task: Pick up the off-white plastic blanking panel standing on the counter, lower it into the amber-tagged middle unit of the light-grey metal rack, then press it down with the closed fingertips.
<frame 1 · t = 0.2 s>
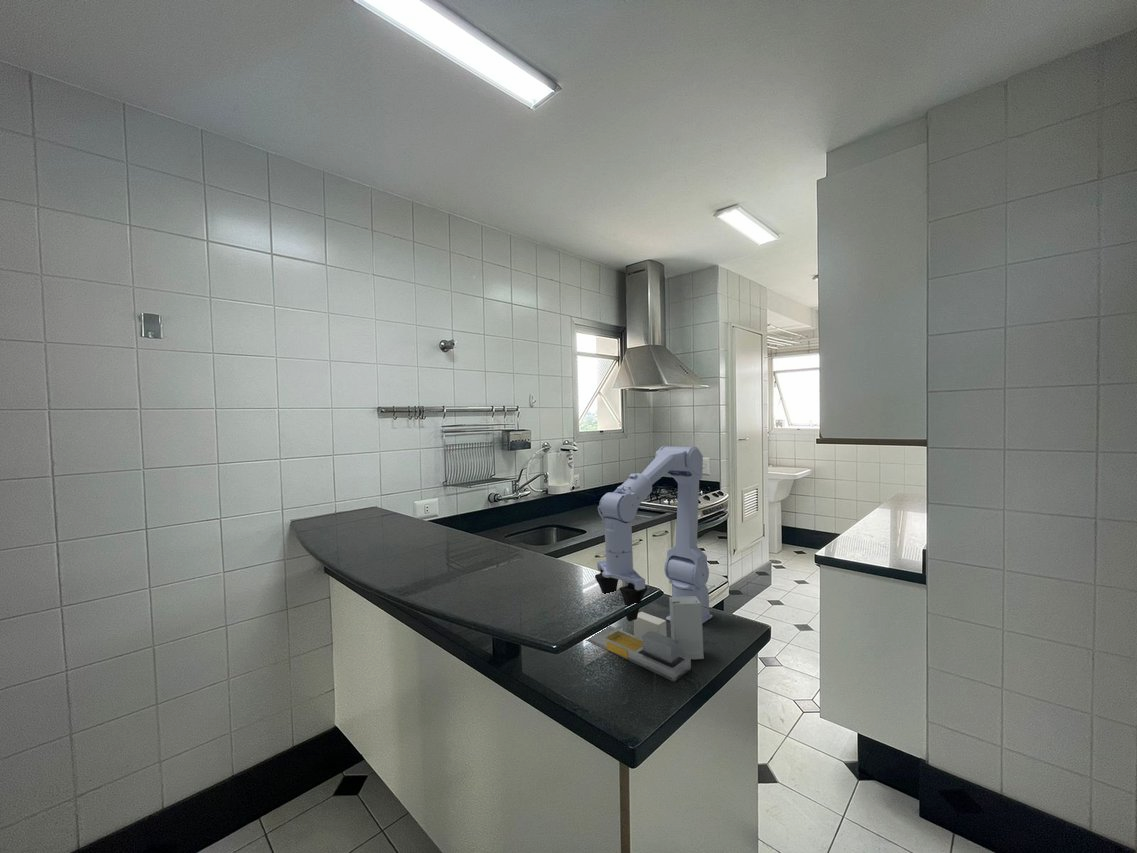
hand: (621, 612, 93), 10 cm above the counter, fingers open, 7 cm apart
skincare box: (687, 656, 93), on the counter
rack: (626, 649, 97), on the counter
panel: (650, 639, 101), on the counter
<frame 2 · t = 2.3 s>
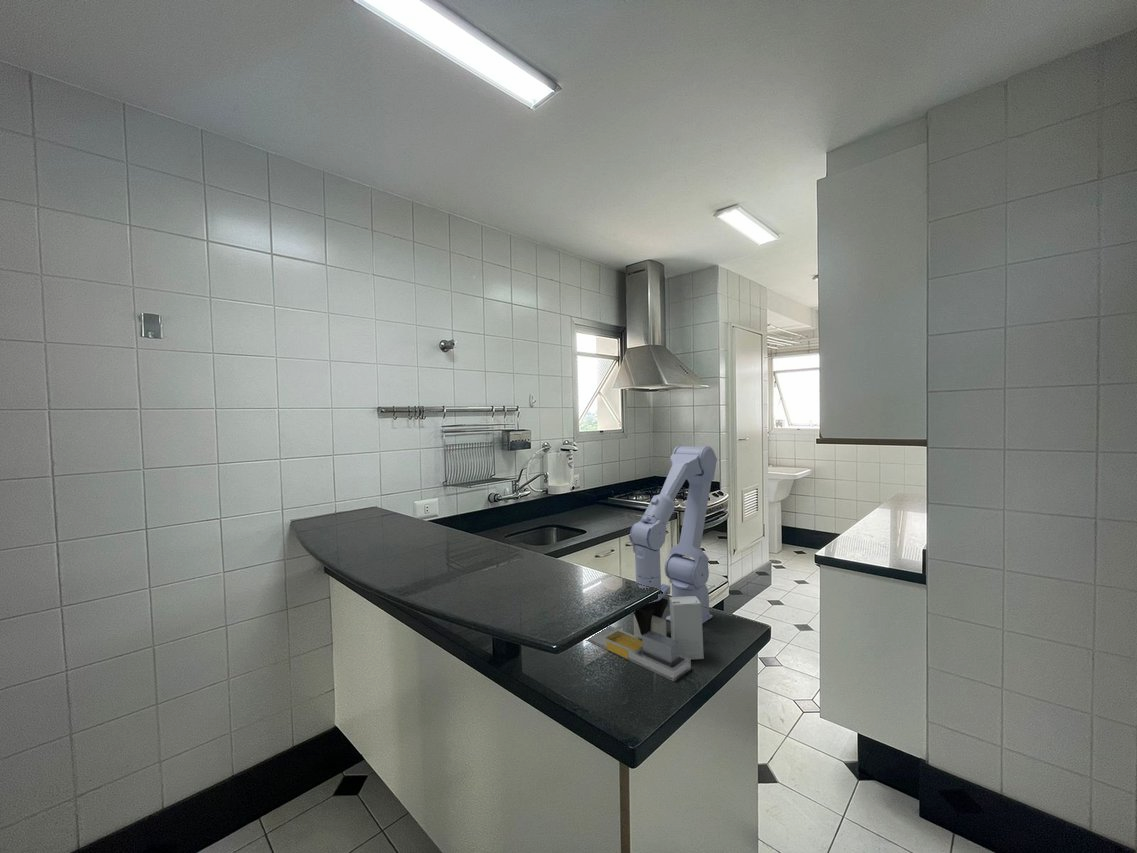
hand: (649, 632, 101), 1 cm above the counter, fingers closed on panel, 3 cm apart
panel: (650, 639, 101), on the counter, touching gripper
everything else where it was.
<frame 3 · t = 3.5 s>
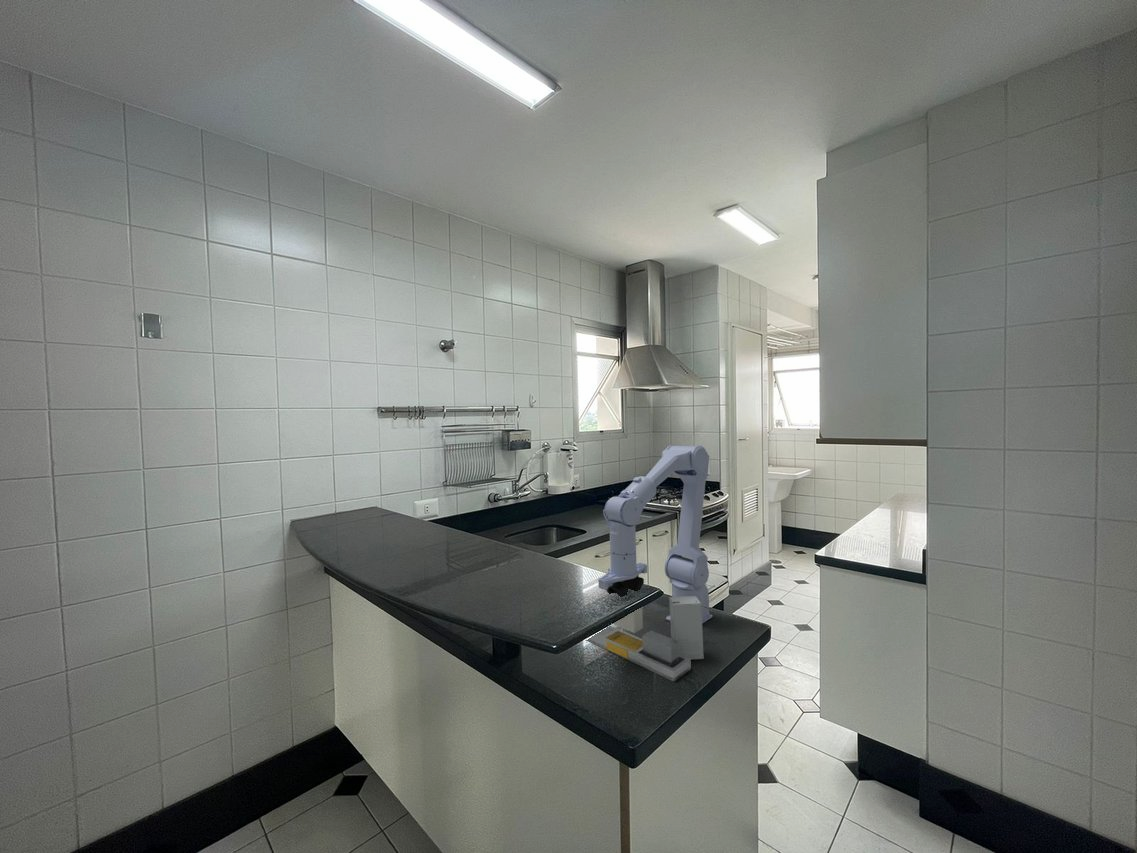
hand: (625, 612, 97), 8 cm above the counter, fingers closed on panel, 3 cm apart
panel: (625, 625, 97), point 5 cm above the counter, touching gripper
everything else where it was.
when the fingers open (3 cm above the counter, at t = 4.8 s): panel stays where it is, resting on rack.
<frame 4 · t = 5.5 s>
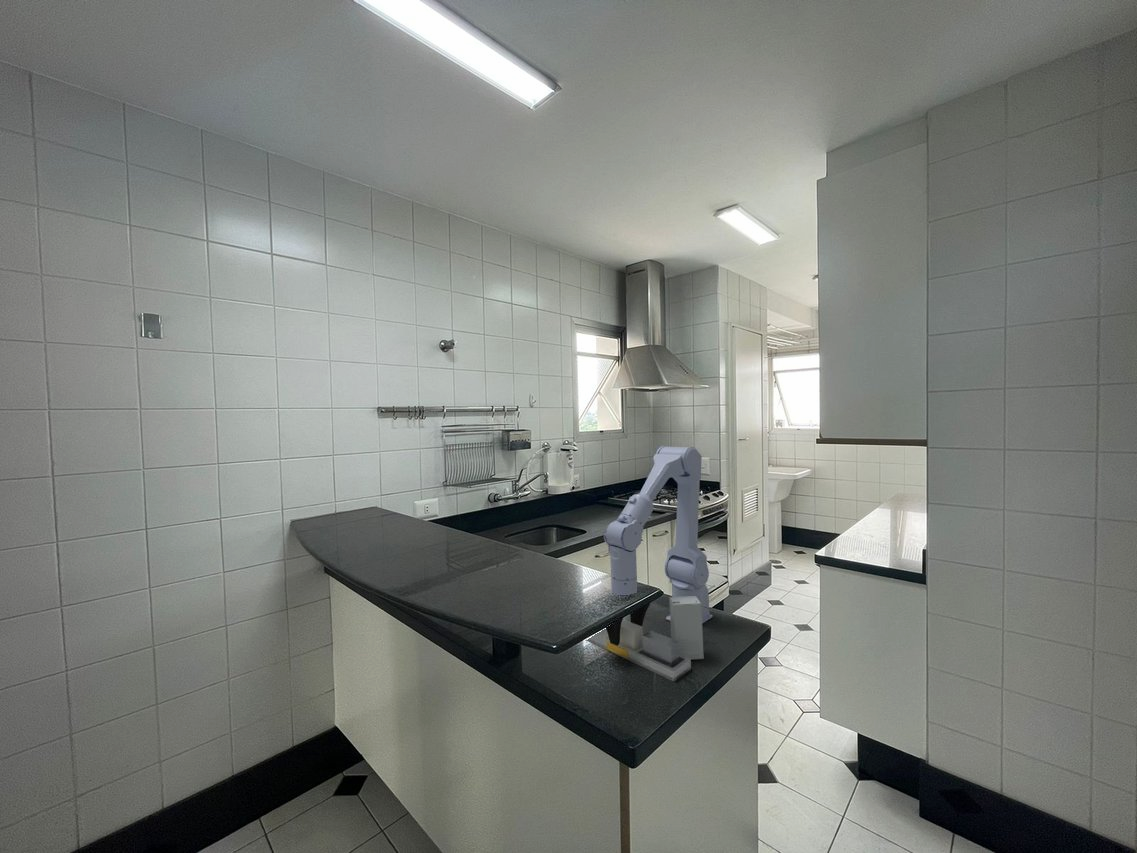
hand: (625, 637, 97), 3 cm above the counter, fingers open, 7 cm apart
panel: (626, 646, 97), point 1 cm above the counter, touching rack
everything else where it was.
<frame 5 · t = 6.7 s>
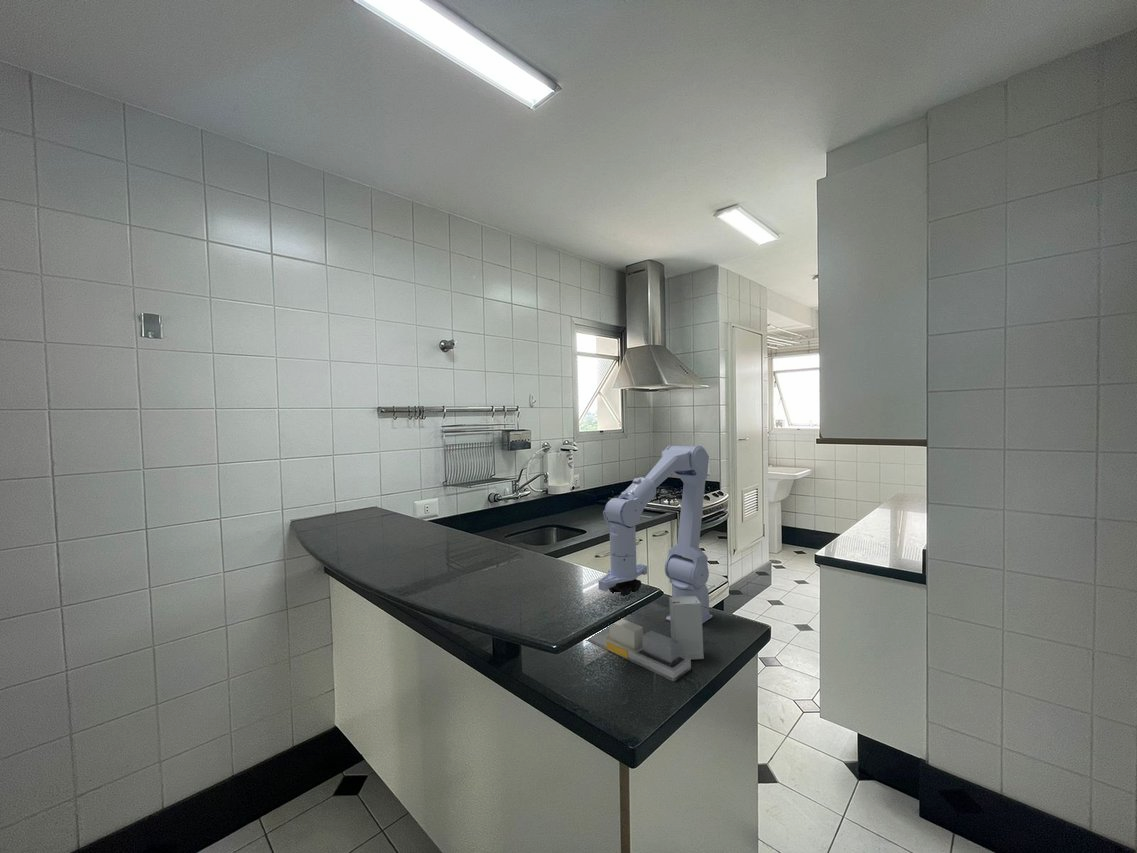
hand: (625, 614, 97), 8 cm above the counter, fingers closed
nothing on the counter moved.
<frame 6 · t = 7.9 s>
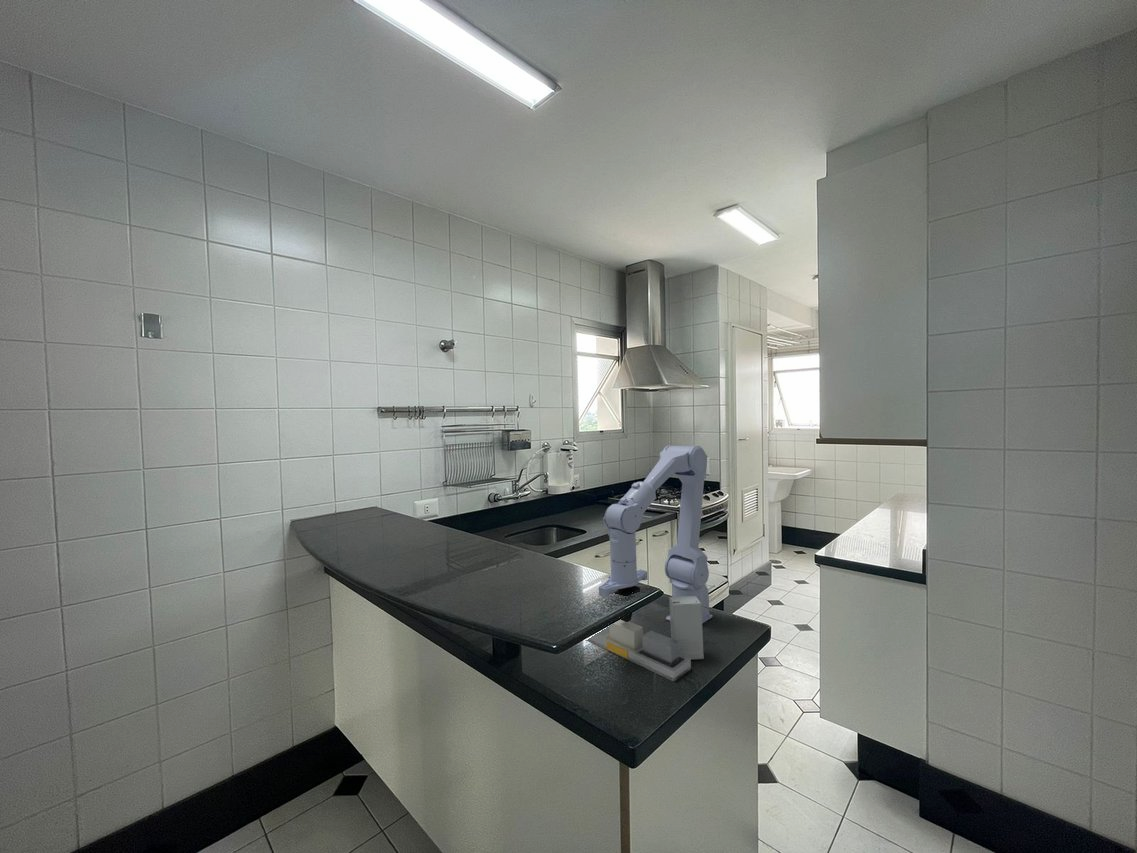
hand: (625, 619, 97), 7 cm above the counter, fingers closed
nothing on the counter moved.
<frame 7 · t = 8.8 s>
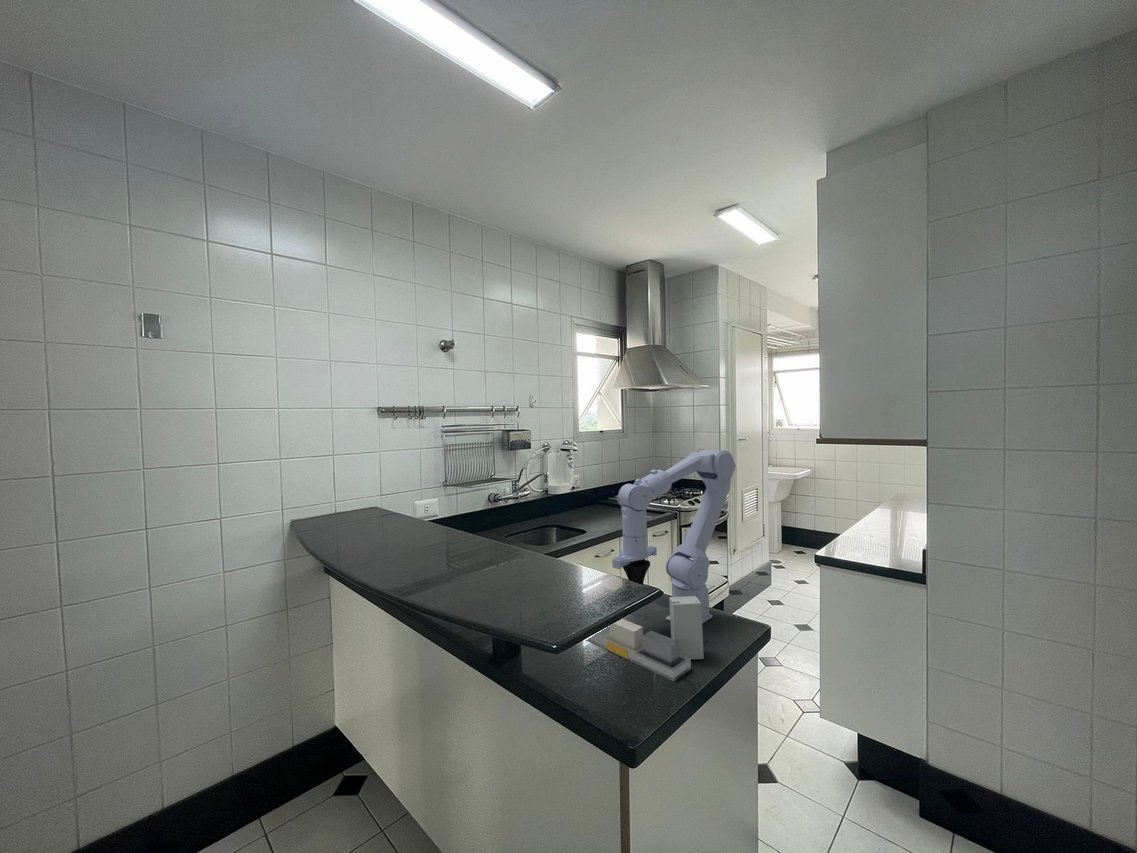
hand: (636, 591, 104), 10 cm above the counter, fingers closed
nothing on the counter moved.
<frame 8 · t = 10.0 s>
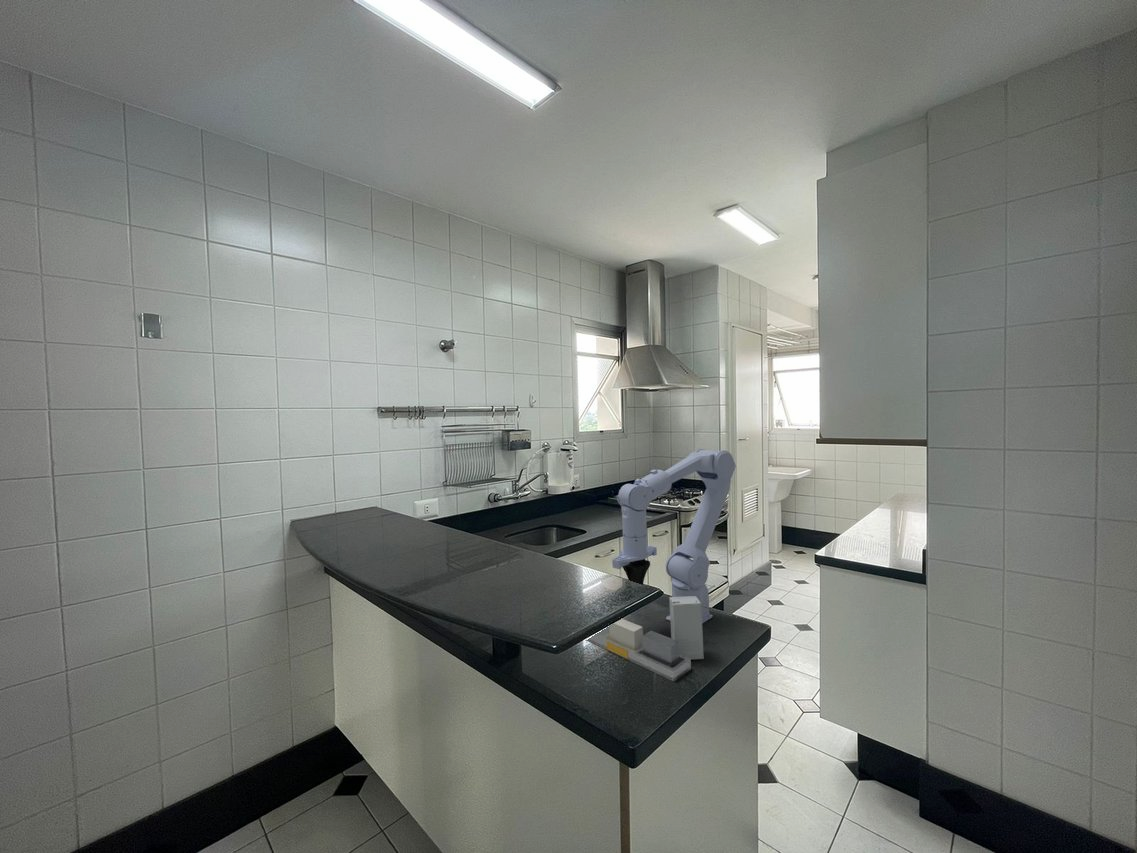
hand: (636, 591, 104), 10 cm above the counter, fingers closed
nothing on the counter moved.
at the end: panel 0.1 cm off-centre on the rack, point 0.7 cm above the rack's base; panel tilted 0°; the gripper is holding nothing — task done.
